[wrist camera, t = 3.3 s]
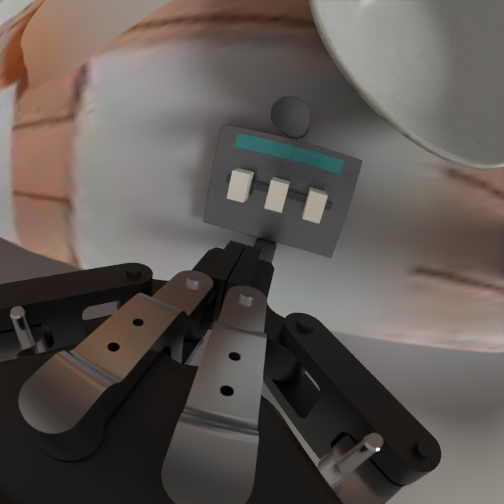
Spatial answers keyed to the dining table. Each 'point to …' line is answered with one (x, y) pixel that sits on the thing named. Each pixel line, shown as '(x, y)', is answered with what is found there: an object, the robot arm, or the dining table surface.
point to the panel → (301, 179)
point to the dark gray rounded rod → (291, 116)
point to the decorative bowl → (425, 69)
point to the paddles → (276, 194)
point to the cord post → (266, 248)
